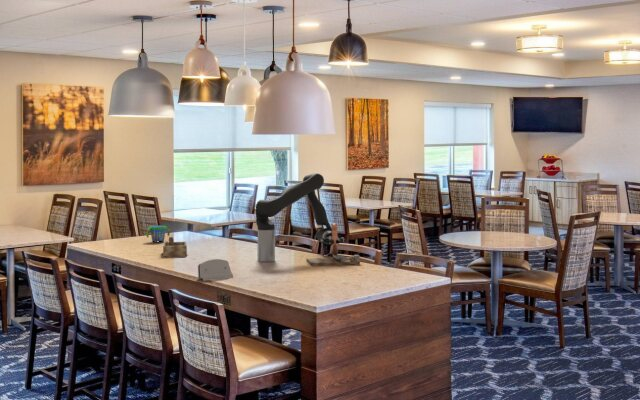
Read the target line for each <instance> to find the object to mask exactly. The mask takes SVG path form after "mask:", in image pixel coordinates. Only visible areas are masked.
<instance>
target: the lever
mask: <svg viewBox="0 0 640 400" xmlns="http://www.w3.org/2000/svg"><path fill="white" fill-rule="evenodd" d="M330 226H331V228H332V240H333V244H332V246H331V253H332V258H336V261H341V262H343V261H344V257H345V255H339V254H338V244H337V236H338V227H339V225H338V223H332V224H331V225H330Z"/></svg>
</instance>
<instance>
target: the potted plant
mask: <svg viewBox="0 0 640 400" xmlns="http://www.w3.org/2000/svg"><path fill="white" fill-rule="evenodd" d="M166 230H167V237H170V234H171V233H170V231H171V230H170V229H169V227H168V226H166V225H150V226H149V227H148V228H147V230H146V232H145V234H146V238H147V239H148V238H149V231H150V236H151V237H150V238H151V241H152V242H153V241H163V242H165V238H166V237H165V236H166Z"/></svg>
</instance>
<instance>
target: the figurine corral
mask: <svg viewBox="0 0 640 400" xmlns="http://www.w3.org/2000/svg"><path fill="white" fill-rule="evenodd" d="M187 244H188V243H187V241H174V242H173V246H169V241H168V242H167V241H163V244H162V246H163V247H162V248H163V249H162V251H163V253H162V255H163V256H176V257H187V255H188V248H187V247H188V245H187Z"/></svg>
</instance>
